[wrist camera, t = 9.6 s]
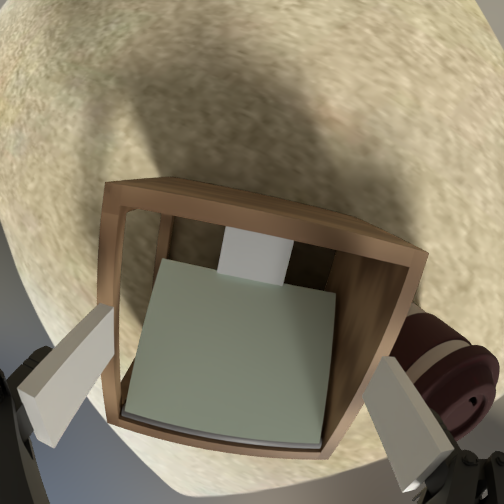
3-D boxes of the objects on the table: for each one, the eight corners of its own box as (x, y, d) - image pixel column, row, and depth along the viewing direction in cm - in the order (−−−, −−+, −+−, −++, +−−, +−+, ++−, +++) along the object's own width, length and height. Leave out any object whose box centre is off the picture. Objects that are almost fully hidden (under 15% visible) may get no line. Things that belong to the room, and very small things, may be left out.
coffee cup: (357, 376, 31) (401, 476, 16) (346, 304, 28) (412, 406, 14) (429, 347, 30) (494, 426, 15) (429, 275, 27) (522, 343, 13)
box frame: (170, 176, 25) (105, 182, 13) (355, 217, 26) (429, 252, 14) (150, 340, 29) (107, 422, 17) (305, 369, 30) (328, 459, 18)
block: (222, 255, 27) (233, 200, 26) (276, 266, 27) (290, 212, 26) (216, 272, 22) (230, 206, 21) (282, 286, 22) (299, 221, 21)
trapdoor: (161, 262, 23) (159, 257, 22) (333, 297, 24) (338, 293, 23) (124, 415, 18) (120, 416, 17) (316, 447, 18) (320, 449, 17)
